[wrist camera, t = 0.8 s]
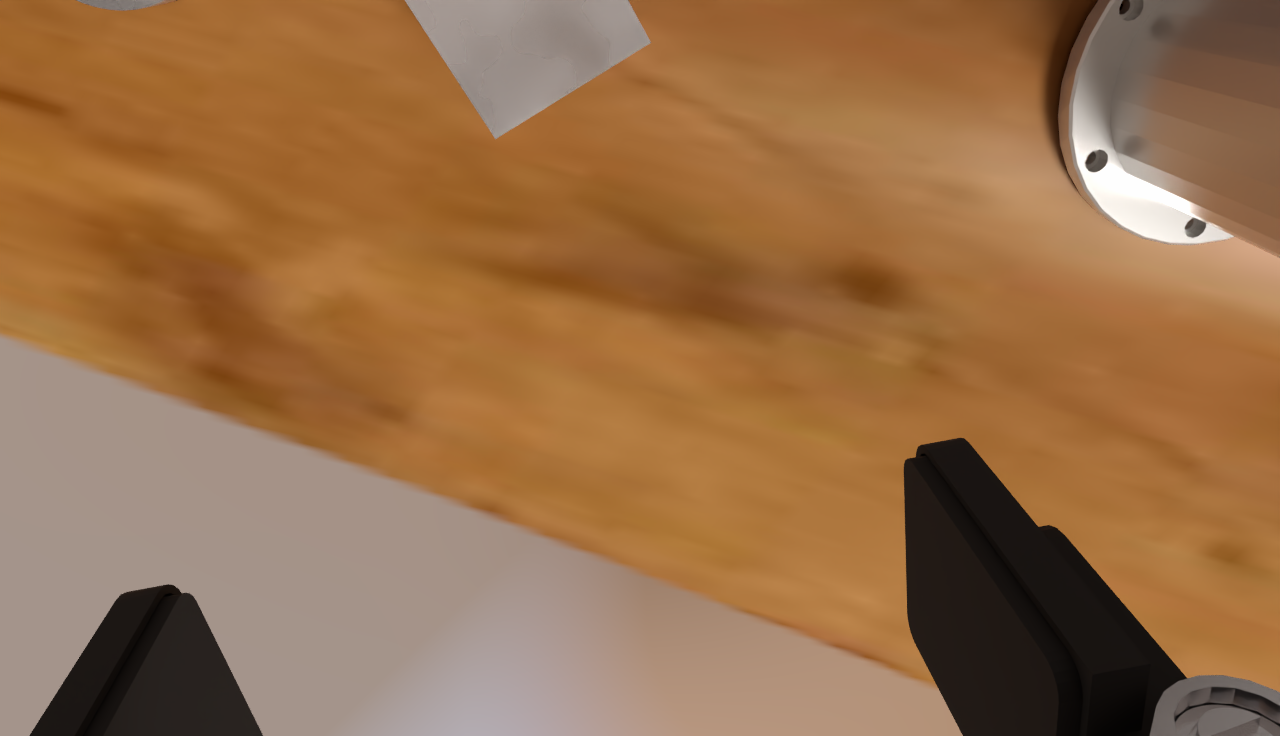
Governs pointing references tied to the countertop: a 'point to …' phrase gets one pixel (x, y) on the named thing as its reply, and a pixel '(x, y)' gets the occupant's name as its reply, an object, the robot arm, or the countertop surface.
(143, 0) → the ratchet
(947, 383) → the countertop surface
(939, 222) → the countertop surface
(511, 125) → the white block
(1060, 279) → the countertop surface
